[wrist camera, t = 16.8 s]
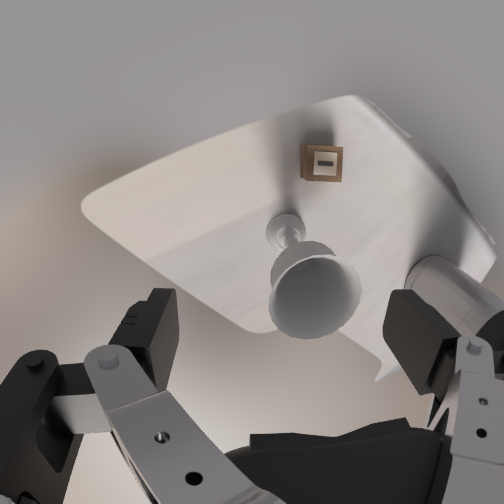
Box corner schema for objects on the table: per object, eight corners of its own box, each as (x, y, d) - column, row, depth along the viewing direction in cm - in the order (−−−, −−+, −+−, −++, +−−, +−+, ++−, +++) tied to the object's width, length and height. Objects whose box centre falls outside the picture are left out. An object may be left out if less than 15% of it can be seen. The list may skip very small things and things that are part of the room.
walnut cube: (331, 178, 38) (341, 182, 34) (300, 177, 38) (307, 180, 34) (333, 146, 36) (343, 147, 32) (301, 144, 36) (308, 144, 32)
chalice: (288, 193, 38) (324, 234, 21) (324, 231, 40) (378, 294, 23) (246, 234, 40) (248, 303, 23) (283, 269, 41) (308, 353, 24)
